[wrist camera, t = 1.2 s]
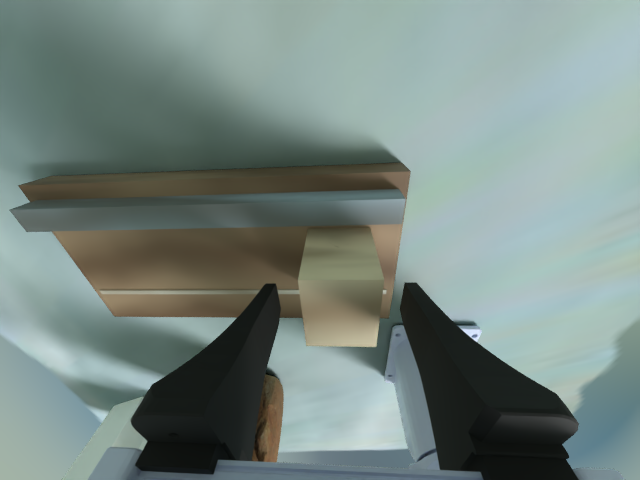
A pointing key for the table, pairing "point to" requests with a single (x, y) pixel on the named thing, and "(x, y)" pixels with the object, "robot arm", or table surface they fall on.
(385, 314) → the board
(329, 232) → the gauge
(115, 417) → the corner bracket
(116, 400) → the table surface
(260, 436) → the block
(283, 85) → the table surface
